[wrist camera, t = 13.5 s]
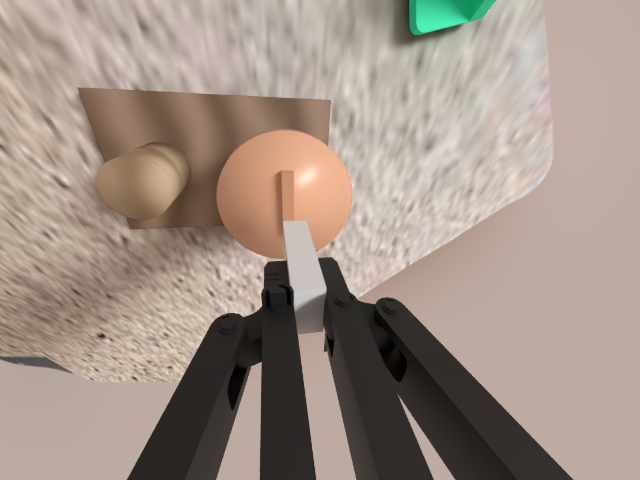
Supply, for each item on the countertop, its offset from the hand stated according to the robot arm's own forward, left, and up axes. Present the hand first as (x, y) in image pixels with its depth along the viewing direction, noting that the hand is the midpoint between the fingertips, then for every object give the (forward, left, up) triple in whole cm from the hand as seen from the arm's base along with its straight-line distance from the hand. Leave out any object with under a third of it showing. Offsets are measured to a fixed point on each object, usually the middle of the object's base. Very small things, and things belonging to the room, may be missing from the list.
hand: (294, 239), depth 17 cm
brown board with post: (-4, -6, -20) cm, 22 cm away
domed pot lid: (0, 0, -11) cm, 11 cm away
